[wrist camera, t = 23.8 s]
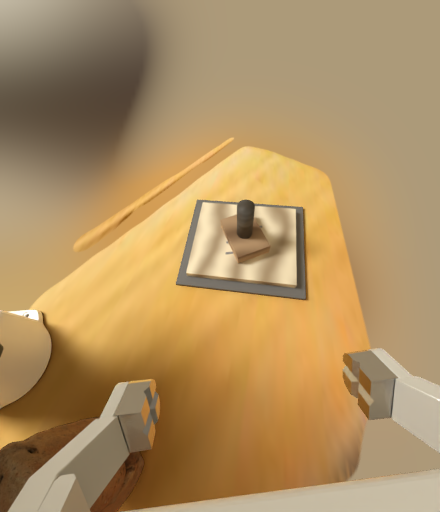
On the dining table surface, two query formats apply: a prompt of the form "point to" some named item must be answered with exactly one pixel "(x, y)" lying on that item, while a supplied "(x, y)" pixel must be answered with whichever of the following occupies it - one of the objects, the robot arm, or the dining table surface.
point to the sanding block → (245, 233)
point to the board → (252, 270)
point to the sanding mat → (242, 286)
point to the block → (48, 445)
